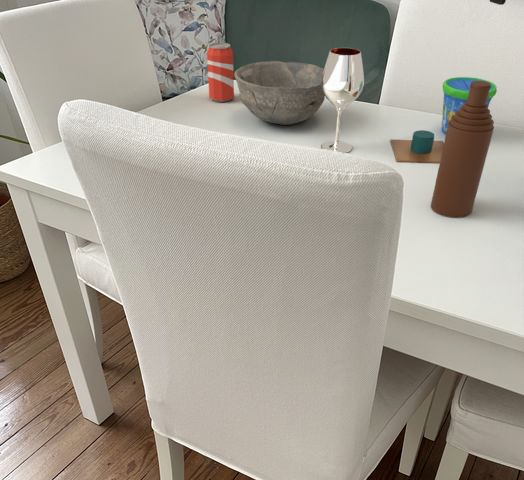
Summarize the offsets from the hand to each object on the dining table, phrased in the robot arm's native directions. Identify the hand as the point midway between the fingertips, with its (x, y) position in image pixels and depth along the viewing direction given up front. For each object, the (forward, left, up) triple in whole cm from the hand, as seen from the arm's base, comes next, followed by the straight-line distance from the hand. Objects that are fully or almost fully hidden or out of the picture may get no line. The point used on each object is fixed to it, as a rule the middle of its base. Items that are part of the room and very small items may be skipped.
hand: (523, 1), depth 89 cm
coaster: (+9, -11, -28) cm, 32 cm away
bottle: (+8, +14, -28) cm, 32 cm away
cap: (+9, -11, -28) cm, 31 cm away
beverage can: (+53, -42, -28) cm, 73 cm away
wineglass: (+26, -12, -28) cm, 40 cm away
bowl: (+38, -28, -28) cm, 55 cm away
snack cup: (-1, -22, -28) cm, 36 cm away
